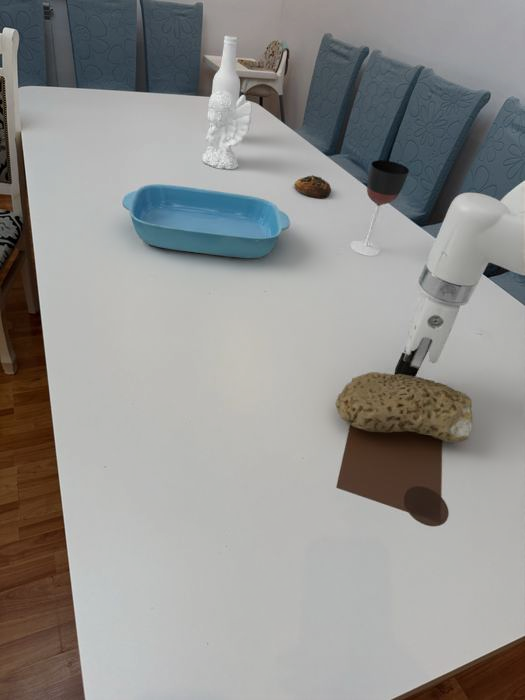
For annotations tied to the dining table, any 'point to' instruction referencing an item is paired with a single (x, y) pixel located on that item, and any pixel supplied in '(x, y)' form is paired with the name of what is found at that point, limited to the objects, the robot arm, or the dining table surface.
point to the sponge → (405, 406)
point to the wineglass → (381, 195)
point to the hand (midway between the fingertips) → (403, 376)
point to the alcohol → (227, 71)
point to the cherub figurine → (226, 128)
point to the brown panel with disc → (396, 472)
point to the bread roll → (313, 186)
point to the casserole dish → (205, 220)
